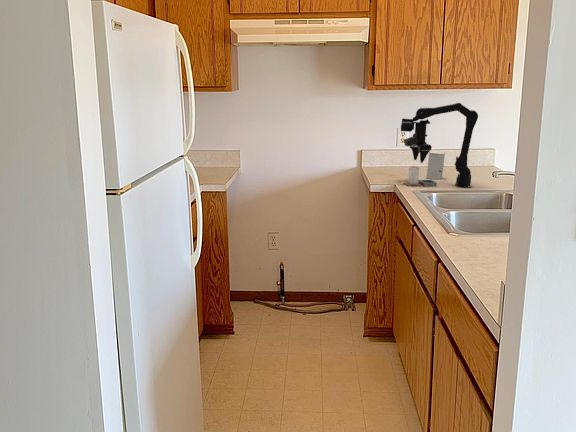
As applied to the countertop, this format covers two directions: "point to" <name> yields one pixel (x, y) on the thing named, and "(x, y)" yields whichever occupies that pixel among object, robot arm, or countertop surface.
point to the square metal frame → (427, 182)
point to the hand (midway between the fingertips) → (418, 161)
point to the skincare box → (435, 165)
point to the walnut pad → (412, 184)
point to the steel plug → (413, 175)
